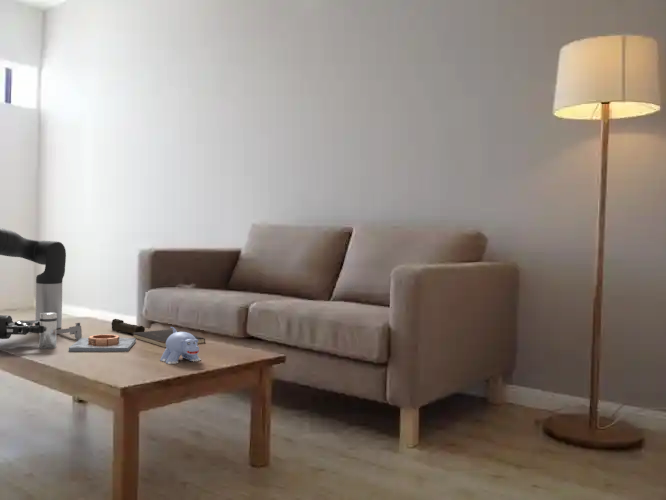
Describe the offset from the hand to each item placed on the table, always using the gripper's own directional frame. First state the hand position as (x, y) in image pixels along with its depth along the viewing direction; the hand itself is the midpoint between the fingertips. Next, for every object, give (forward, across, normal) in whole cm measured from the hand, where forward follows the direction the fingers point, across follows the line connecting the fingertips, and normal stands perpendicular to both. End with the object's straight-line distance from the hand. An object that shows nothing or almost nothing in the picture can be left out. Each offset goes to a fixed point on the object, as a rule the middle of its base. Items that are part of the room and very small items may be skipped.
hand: (47, 327), depth 209 cm
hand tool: (+20, +30, +7) cm, 36 cm away
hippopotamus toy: (+44, -22, +7) cm, 50 cm away
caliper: (+1, +21, +7) cm, 22 cm away
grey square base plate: (+17, +2, +6) cm, 19 cm away
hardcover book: (+37, +15, +7) cm, 40 cm away
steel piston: (0, 0, +6) cm, 7 cm away
